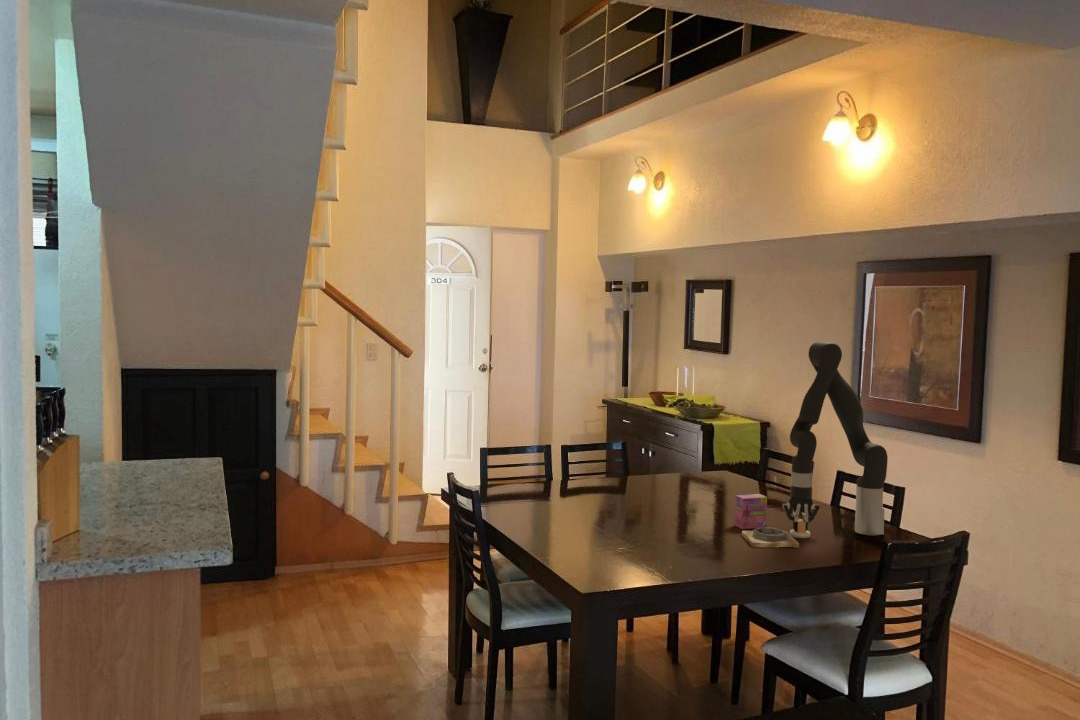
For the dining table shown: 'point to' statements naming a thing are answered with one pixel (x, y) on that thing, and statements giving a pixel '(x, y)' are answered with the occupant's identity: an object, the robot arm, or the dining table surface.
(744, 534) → the board
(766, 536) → the grey octagonal ring
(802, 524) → the white disc orange handle
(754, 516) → the box
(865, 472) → the robot arm
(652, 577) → the dining table surface
